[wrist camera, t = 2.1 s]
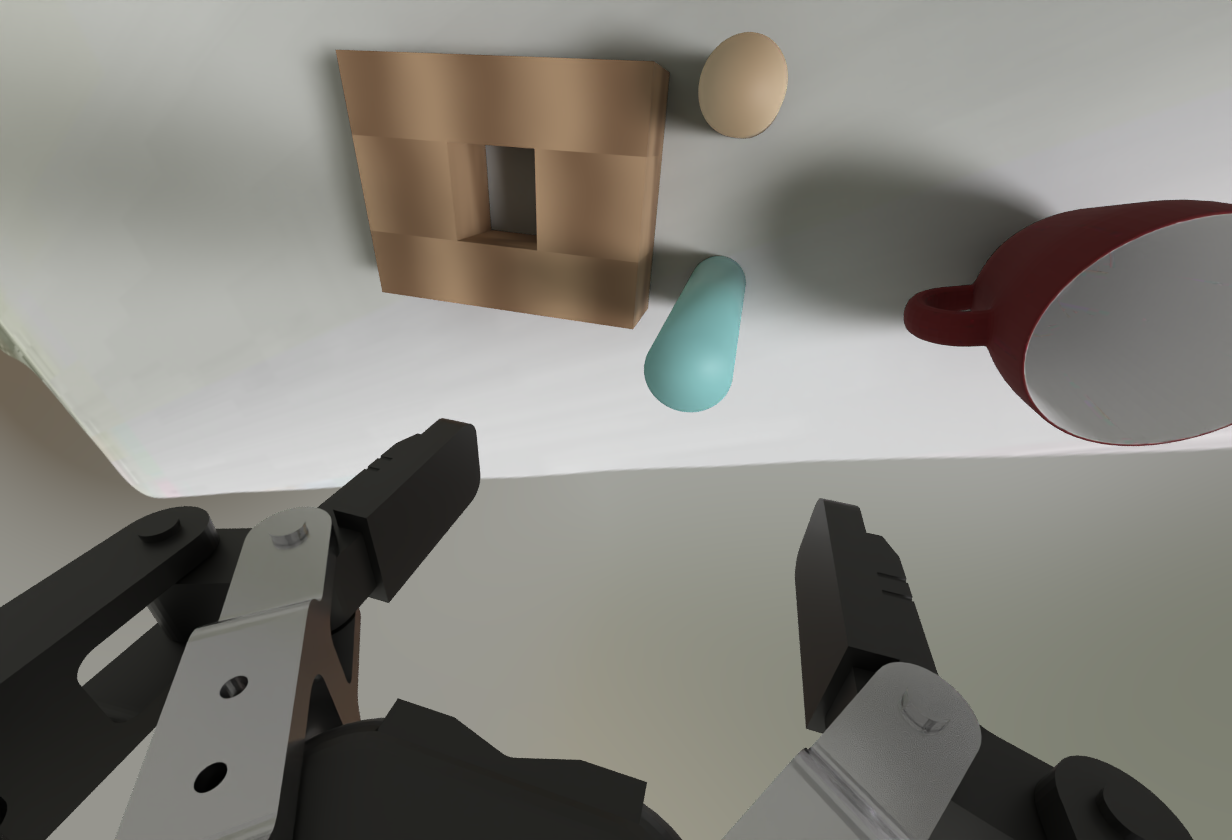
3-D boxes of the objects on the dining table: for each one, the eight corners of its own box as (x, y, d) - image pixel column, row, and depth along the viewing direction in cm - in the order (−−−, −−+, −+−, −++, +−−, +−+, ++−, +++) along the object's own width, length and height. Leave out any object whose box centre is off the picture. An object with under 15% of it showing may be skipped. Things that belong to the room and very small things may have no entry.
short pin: (789, 61, 23) (797, 33, 17) (773, 140, 24) (776, 139, 18) (720, 59, 23) (705, 31, 17) (709, 136, 25) (692, 134, 19)
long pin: (750, 259, 27) (740, 337, 16) (739, 314, 29) (724, 419, 18) (694, 252, 28) (648, 324, 17) (686, 307, 29) (640, 404, 19)
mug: (890, 371, 28) (943, 468, 20) (876, 231, 25) (932, 276, 17) (1128, 329, 24) (1320, 428, 16) (1147, 155, 21) (1402, 164, 13)
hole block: (669, 72, 24) (654, 61, 21) (647, 308, 30) (632, 329, 27) (388, 61, 27) (335, 49, 24) (421, 276, 33) (382, 291, 30)
